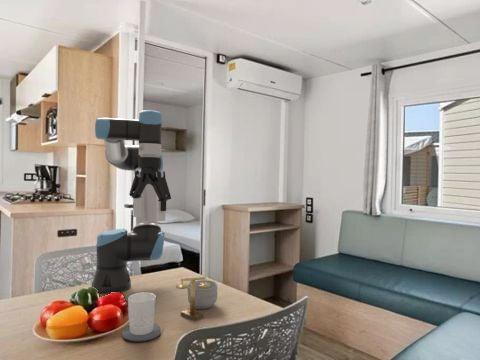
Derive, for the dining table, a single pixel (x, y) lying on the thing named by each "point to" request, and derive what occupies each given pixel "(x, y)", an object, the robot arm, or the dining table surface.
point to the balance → (192, 297)
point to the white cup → (141, 312)
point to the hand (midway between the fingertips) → (148, 218)
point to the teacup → (204, 294)
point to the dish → (141, 338)
